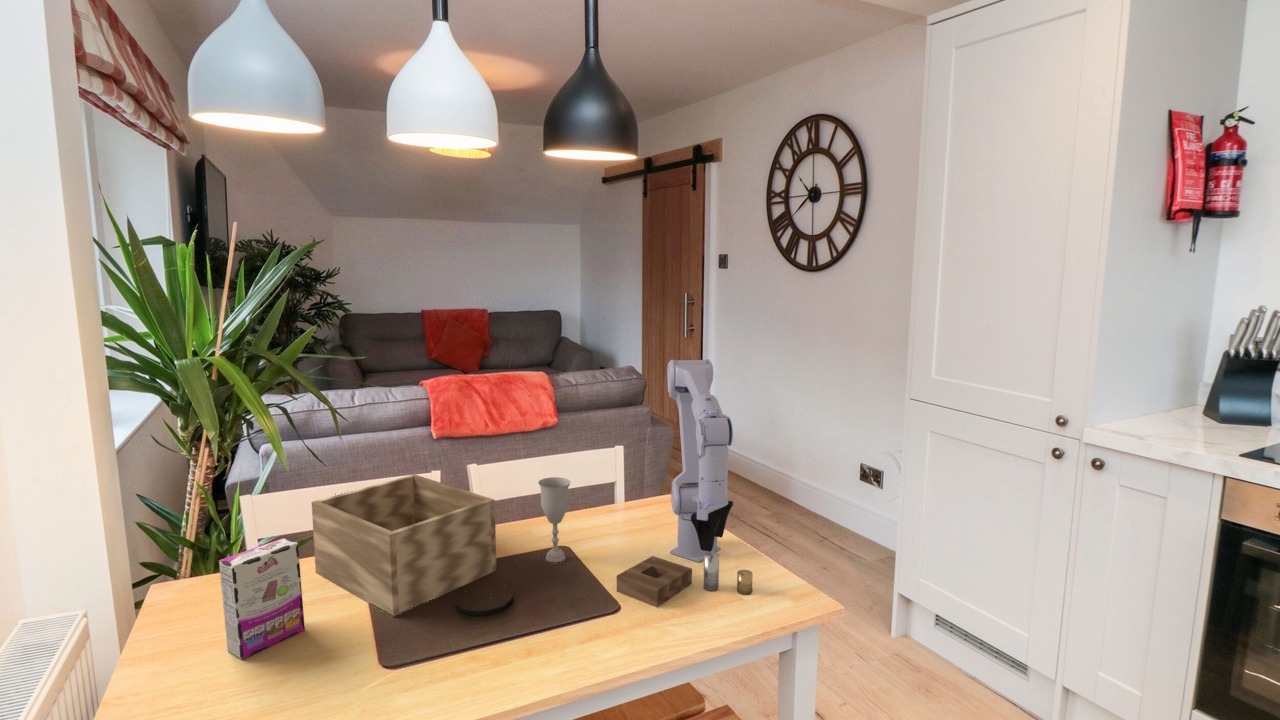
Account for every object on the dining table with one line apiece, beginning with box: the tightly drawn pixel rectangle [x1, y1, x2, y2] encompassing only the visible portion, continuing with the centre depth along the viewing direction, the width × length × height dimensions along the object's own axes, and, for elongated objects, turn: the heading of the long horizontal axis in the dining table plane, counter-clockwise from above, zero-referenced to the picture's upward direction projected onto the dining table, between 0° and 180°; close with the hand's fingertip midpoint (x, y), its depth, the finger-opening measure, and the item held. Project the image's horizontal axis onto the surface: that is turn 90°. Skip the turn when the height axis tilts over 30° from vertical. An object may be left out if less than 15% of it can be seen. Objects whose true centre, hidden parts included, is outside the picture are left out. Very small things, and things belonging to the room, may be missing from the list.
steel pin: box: [703, 552, 720, 593], centre depth 135 cm, size 3×3×7 cm
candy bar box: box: [218, 537, 306, 660], centre depth 114 cm, size 11×5×16 cm, turn 148°
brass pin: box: [736, 569, 754, 596], centre depth 134 cm, size 3×3×4 cm
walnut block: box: [616, 555, 693, 608], centre depth 135 cm, size 12×10×4 cm
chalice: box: [537, 476, 572, 562], centre depth 147 cm, size 7×7×18 cm
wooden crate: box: [311, 474, 497, 615], centre depth 140 cm, size 24×28×16 cm
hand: (711, 543), depth 134 cm, fingers open, 7 cm apart
